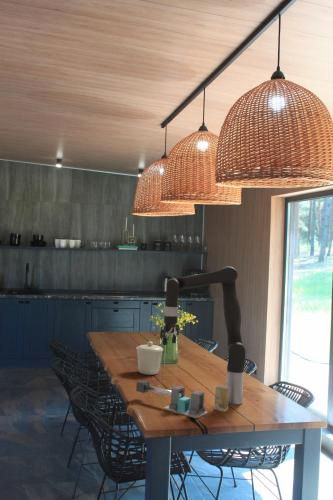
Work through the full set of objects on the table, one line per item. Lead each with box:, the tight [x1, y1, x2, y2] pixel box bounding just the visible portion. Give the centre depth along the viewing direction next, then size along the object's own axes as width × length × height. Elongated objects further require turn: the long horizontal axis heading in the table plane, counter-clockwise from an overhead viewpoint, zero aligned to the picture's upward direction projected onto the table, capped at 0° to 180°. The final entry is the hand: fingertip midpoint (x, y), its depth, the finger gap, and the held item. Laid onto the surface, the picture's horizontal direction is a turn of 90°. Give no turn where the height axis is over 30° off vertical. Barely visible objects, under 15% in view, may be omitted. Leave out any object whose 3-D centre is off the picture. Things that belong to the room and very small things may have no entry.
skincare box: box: [213, 384, 230, 413], centre depth 266 cm, size 6×4×12 cm
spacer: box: [177, 396, 191, 411], centre depth 260 cm, size 6×4×6 cm, turn 144°
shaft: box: [135, 379, 182, 398], centre depth 270 cm, size 28×5×5 cm, turn 54°
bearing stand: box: [162, 385, 208, 419], centre depth 260 cm, size 11×20×11 cm, turn 54°
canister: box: [135, 340, 164, 376], centre depth 338 cm, size 18×18×21 cm
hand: (169, 344), depth 281 cm, fingers open, 8 cm apart
